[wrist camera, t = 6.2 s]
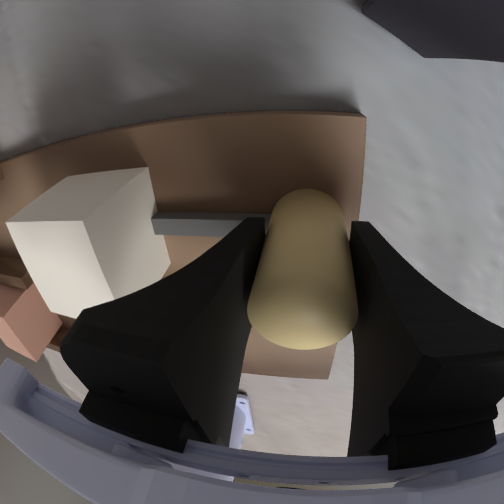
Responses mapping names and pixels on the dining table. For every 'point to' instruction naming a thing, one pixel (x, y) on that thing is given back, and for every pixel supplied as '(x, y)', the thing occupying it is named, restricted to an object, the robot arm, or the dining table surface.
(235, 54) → the dining table surface
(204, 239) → the shelf
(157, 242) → the tethered block
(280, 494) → the robot arm
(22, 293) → the untied block
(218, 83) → the dining table surface
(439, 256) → the dining table surface
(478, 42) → the calculator
